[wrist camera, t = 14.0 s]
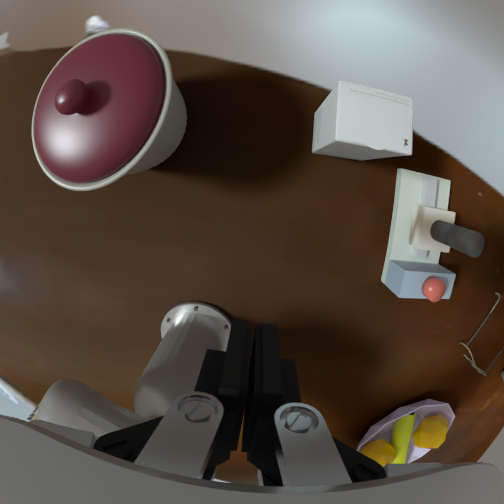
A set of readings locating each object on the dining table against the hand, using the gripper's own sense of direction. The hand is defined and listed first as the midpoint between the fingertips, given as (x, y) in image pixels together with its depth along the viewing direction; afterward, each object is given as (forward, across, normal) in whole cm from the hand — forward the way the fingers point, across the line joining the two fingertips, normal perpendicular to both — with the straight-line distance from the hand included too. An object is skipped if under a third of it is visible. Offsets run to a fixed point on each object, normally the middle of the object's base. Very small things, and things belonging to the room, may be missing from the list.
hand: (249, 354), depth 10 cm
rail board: (+31, -25, -4) cm, 40 cm away
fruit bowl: (+32, -41, +44) cm, 68 cm away
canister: (+32, +18, -13) cm, 39 cm away
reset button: (+24, -26, +3) cm, 35 cm away
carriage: (+29, -25, -5) cm, 39 cm away
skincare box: (+31, -10, -15) cm, 36 cm away
